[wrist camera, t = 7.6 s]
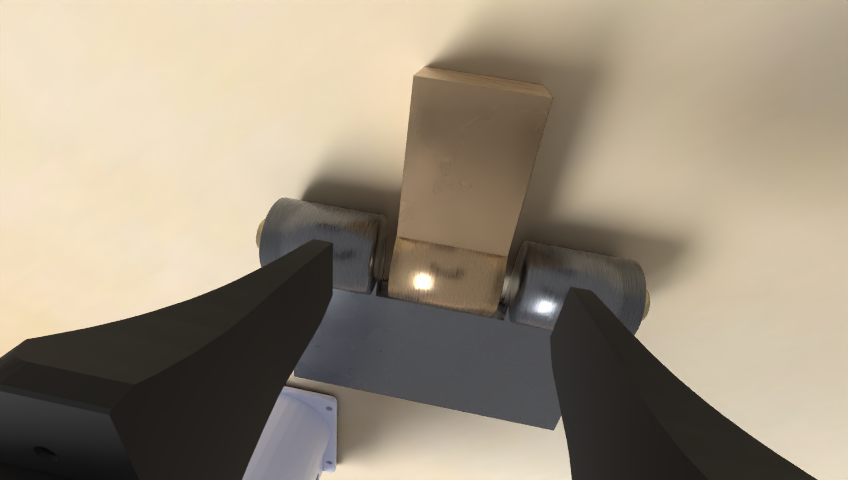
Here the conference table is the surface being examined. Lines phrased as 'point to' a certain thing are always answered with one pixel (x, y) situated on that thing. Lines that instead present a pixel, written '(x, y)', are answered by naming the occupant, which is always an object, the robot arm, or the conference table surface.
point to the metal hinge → (444, 319)
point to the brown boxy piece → (464, 186)
